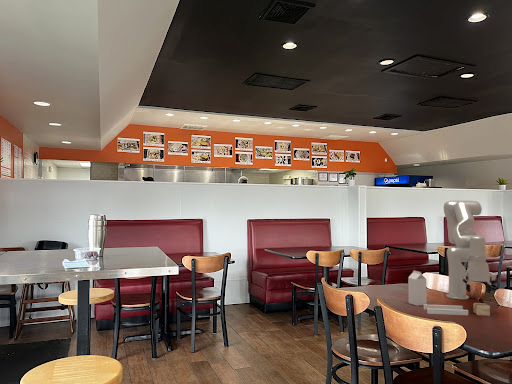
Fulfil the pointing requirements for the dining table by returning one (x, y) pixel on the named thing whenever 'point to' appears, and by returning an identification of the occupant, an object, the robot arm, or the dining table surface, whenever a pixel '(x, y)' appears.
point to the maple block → (482, 309)
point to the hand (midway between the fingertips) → (478, 292)
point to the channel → (445, 309)
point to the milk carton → (417, 289)
